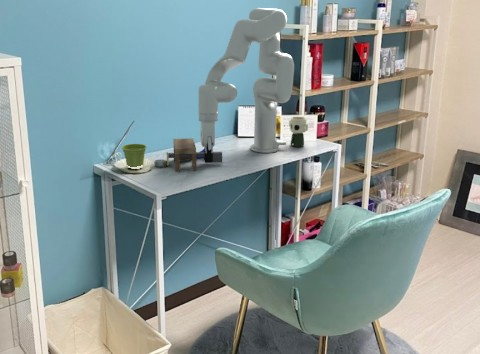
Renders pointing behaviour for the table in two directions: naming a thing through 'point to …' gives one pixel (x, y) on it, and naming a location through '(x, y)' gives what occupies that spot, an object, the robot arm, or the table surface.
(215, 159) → the scraper
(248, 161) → the table surface
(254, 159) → the table surface
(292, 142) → the character mug
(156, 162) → the steel token
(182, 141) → the brown block with legs
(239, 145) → the table surface
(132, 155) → the plant pot
